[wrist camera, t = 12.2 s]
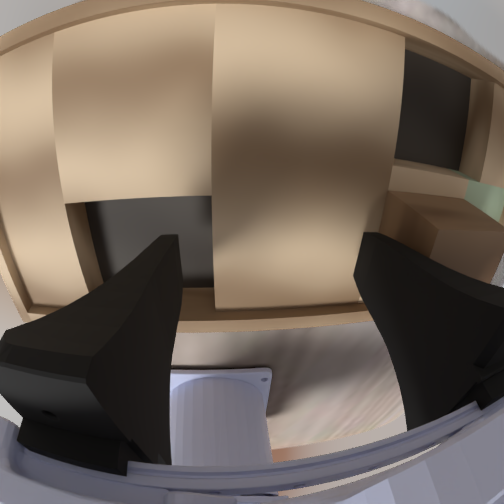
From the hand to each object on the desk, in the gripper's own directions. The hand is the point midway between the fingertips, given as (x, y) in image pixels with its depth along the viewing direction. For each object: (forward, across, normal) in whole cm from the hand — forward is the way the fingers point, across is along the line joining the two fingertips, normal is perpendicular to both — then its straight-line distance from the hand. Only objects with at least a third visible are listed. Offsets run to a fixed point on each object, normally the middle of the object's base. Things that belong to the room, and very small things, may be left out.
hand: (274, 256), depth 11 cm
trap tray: (+3, -1, -3) cm, 4 cm away
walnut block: (+1, -7, 0) cm, 7 cm away
